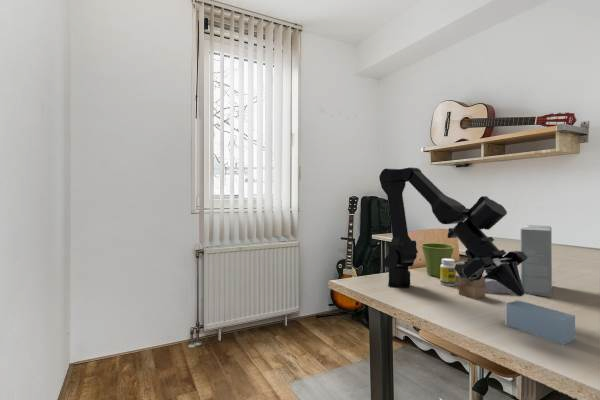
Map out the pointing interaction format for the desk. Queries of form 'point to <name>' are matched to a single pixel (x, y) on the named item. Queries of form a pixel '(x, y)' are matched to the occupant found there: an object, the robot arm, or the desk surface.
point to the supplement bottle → (448, 272)
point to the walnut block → (472, 288)
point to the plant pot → (436, 256)
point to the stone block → (494, 286)
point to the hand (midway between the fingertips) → (522, 295)
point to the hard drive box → (536, 259)
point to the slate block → (540, 321)
